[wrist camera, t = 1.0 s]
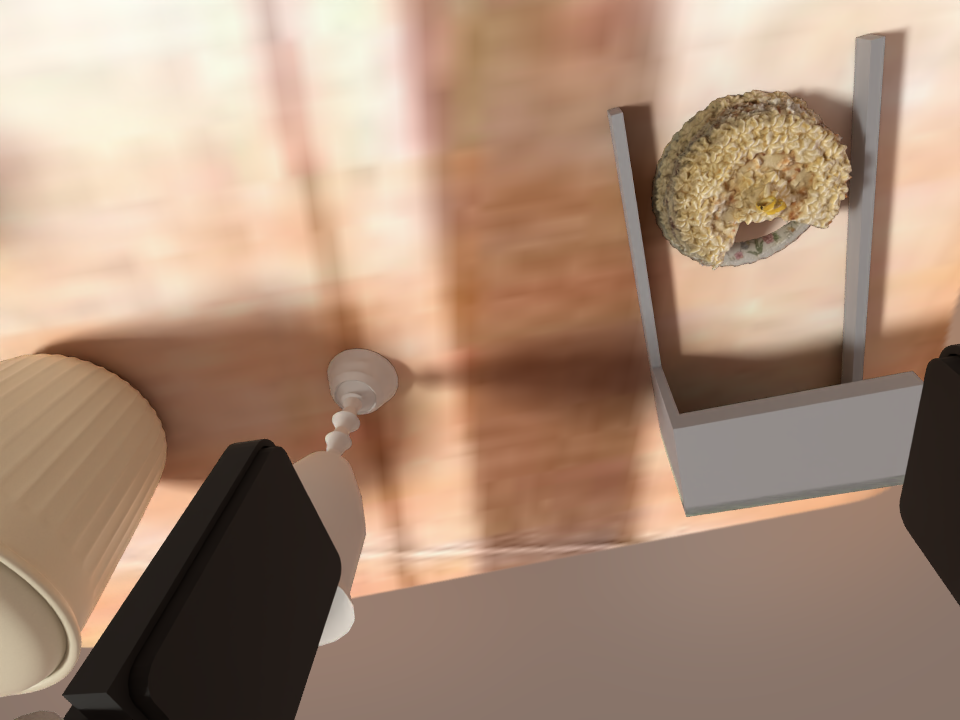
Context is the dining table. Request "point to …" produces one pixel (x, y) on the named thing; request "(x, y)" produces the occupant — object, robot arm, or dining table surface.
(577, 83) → the dining table surface
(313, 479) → the chalice
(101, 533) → the canister
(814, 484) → the low barrier
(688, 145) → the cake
